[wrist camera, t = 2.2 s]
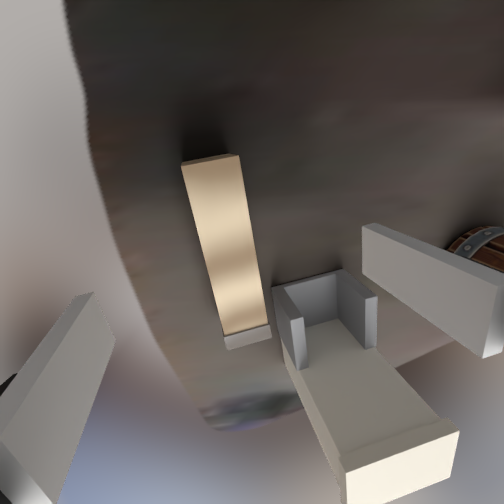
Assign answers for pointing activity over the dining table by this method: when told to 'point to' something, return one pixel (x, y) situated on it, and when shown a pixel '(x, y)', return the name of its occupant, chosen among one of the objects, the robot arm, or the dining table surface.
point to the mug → (482, 246)
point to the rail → (228, 246)
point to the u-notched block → (358, 392)
